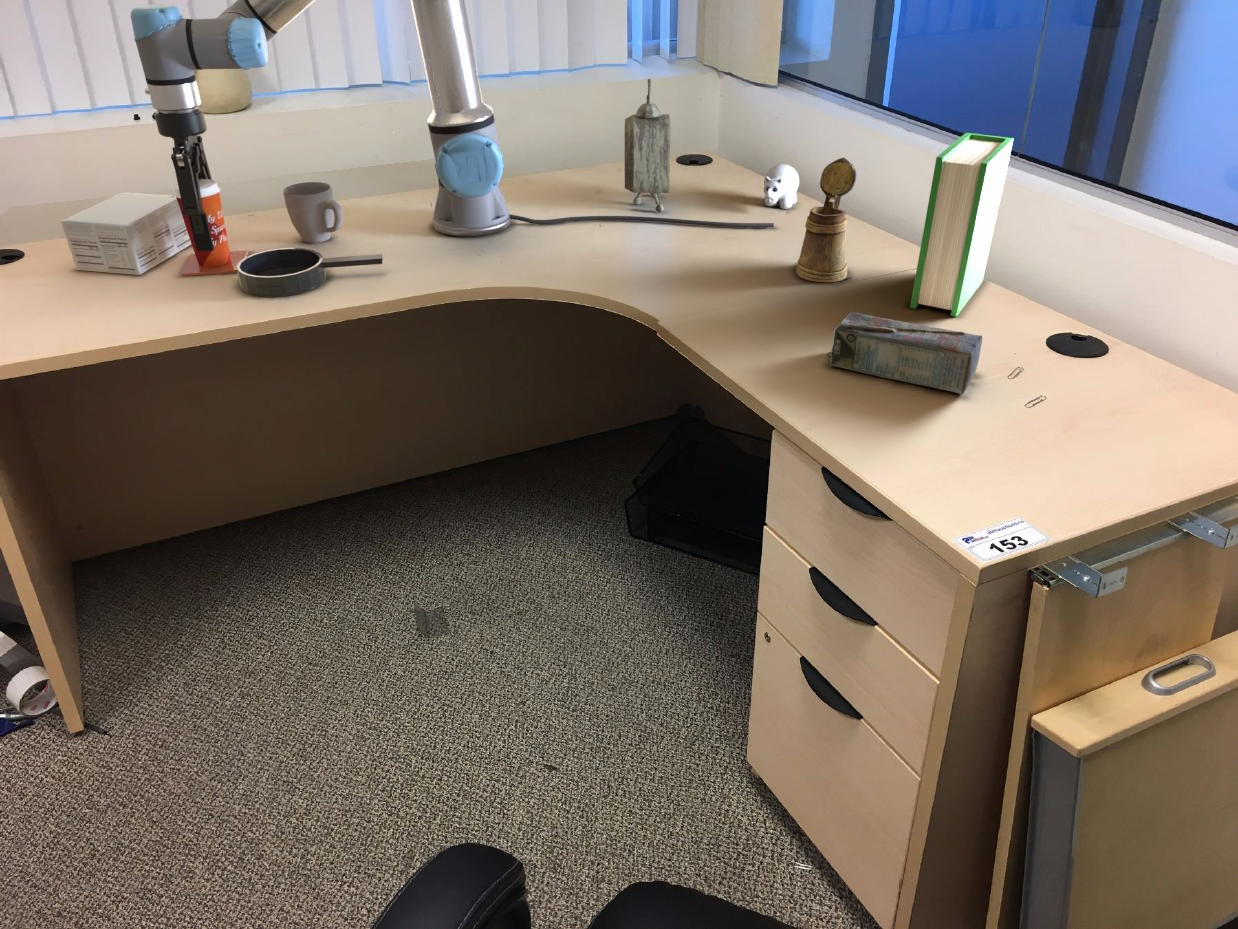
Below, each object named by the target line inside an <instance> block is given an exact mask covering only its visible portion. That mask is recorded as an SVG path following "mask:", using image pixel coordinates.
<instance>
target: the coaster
mask: <svg viewBox="0 0 1238 929" xmlns="http://www.w3.org/2000/svg"><path fill="white" fill-rule="evenodd" d="M248 256H249V250H237V251H235V250H234V251H230V257H231V261H230V262H229V263H227V264H225V265H222V266H218V267H202V266H200V265H199V264H198V261H197V259H196V256H195V253H194V254H193V253H192V254H190V256H189V258H188V260H187V262H186V264H185V265H184V267H183V269H182V271H181V273H180V276H181V277H192V276H194V277H195V276H206V275H221V274H222V275H223V274H235V273H237V270H236V266H237V264H238V262H240V261H241V260H242V259H244V258H246V257H248Z"/></svg>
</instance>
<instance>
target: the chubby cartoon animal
mask: <svg viewBox="0 0 1238 929" xmlns="http://www.w3.org/2000/svg"><path fill="white" fill-rule="evenodd" d="M799 185H800V177H799V174H798V172H797V170H796V169H795V168H794V167H792V166H791V165H789V164H785V163H780V164H776V165H774V166H771V168H770V169H769V170H767V172H766V174H765V176H764V179H763V193H764V205H765V206H767V207H775V206H777V204H779V208H780V209H783V210H787V209H792V207H793V205H795V204H797V202H798V199H797V198H798V197H797V193H796V192H797V191H798V189H799Z"/></svg>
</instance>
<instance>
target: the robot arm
mask: <svg viewBox="0 0 1238 929" xmlns="http://www.w3.org/2000/svg"><path fill="white" fill-rule="evenodd" d="M315 1H316V0H236V1H235V2H234V3H232V4H230V6H229V7H227V8H226V9H225V10H224V11H223V12H222V13H221V14H220V15H218V16H217V17H216V18H215V17H213V18H195V19H194V18H184V15H182V12H181V10H180V7H178V6H177V5H174V4H164V3H163V4H162V3H161V4H144V5H139V6H136V7H133V9H132V10H131V12H130V19H131V26H132V30H133V35H134V38H133V40H134V42H135V45H136V48H137V52H138V56H139V59H140V60H139V61H140V62H141V66H142V70H143V75H144V78H145V82H146V85H147V88H144V92H145V94H146V95H147V96H148V95H149V96H150V102H151V106H152V108H153V109H154V110H156V111H155V112H154V114H153V115H154V120H155V123H156V127H157V131H158V133H159V135H160V136H162V137H164V138H171V139H173V146H172V153H171V154H170V159H171V161H172V164H173V168H174V173H175V178H176V182H177V184H178V187H179V192H180V196H181V201H182V206H183V212H182V215H183V216H187V215H188V217H189V221H190V225H191V229H192V233H193V237H194V241H195V245H196V249H197V251H213V250H214V246H213V242H212V238H211V234H210V230H209V225H208V221H207V217H206V213H203V212H204V211H203V207H202V200H201V193H200V186H199V179H210V180H213V178H212V174H211V170H210V167H209V162H208V160H207V156H206V153H205V148H204V143H203V137H202V134H204V133H206V132H207V128H208V127H207V124H206V119H205V114H204V110H203V109H202V108H201V107H200V106H201V105H202V100H201V95H200V91H199V87H198V83H197V79H196V75H195V71H203V70H243V71H246V70H247V71H248V70H250V69H260V68H261V69H262V68H264V67H266V66H267V64H268V63H269V47H268V42H269V41H270V40H272V38H273V37H275V36H276V35H277V34H278V33H279V32H280V31H281V30H282V29H284V28H285V27H286V26H287V25H288V24H290V23H291V21H293V20H294V19H295V18H297V17H299V15H300V14H301V13H303V11H305V10H306V9H307V8H308V7H310V6H311V5H312V4H313V3H314V2H315ZM410 3H411V8H412V13H413V18H414V22H415V27H416V28H415V29H416V32H417V36H418V42H419V46H420V51H421V57H422V60H423V65H424V71H425V74H426V75H425V76H426V80H427V85H428V89H429V93H430V98H431V103H432V104H431V105H432V109H431V113H430V115H429V117H428V118H427V120H426V123H427V127H428V131H429V137H430V141H431V147H432V151H433V156H434V160H435V162H434V168H435V169H434V170H435V173H436V176H437V180H438V191H437V197H436V201H435V205H434V209H433V203H432V200H431V199H430V201H429V202H430V206H431V210H433V216H432V222H433V229H435V231H437V232H438V233H440V234H443V235H448V236H451V237H453V236H454V237H463V238H464V237H465V238H466V237H467V238H468V237H482V236H488V235H493V234H497V233H499V232H502V231H504V230H506V229H507V228H509V227H510V225H511V220H513V221H514V220H515V221H520V222H524V223H528V224H533V225H555V224H560V223H562V224H563V223H568V222H584V221H635V222H655V223H666V224H680V225H691V226H707V227H720V228H775V227H774V226H775V224H774V222H725V221H724V222H723V221H710V220H708V221H706V220H693V219H682V218H669V217H653V216H638V215H637V216H636V215H586V216H569V217H568V216H567V217H561V218H559V217H558V218H552V219H534V218H529V217H526V216H520V215H515V214H511V212H510V210H509V207H508V204H507V202H506V199H505V197H504V195H503V192H502V189H501V187H500V182H501V179H502V177H503V172H504V168H505V162H504V156H503V153H502V152H501V148H500V143H499V142H500V141H499V137H498V132H497V126H496V117H495V115H494V114H495V113H494V109H493V106H491V105H490V104H487V103H484V101H483V96H482V90H481V85H480V79H479V74H478V69H477V63H476V57H475V51H474V46H473V41H472V36H471V35H472V34H471V30H470V24H469V18H468V13H467V8H466V1H465V0H410Z"/></svg>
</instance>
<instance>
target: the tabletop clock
mask: <svg viewBox="0 0 1238 929" xmlns="http://www.w3.org/2000/svg"><path fill="white" fill-rule="evenodd" d="M651 93H652V79H650V78H648V79H647V95H646V103H642V104H640V105H639V107H638V108H637V110H636V113H635V114H634V113H633V114H631V115H630V116H628V117H626V118H625V119H624V189H626V190H627V191H629V192H631V193H633V194H636V197H634V198H633V201H632V202H633V204H634V206H635V205H636V206H639V205H640V204H641V202H642V200H641V195H642V194H650V195H651V196H652V197H653V200H654V201H655V204H656V206H655V210H656V212H658V213H662V212H663V211H664V209H665V207H664V205H663V204H661V203H660V200H659V198H660V197H662V196H663V194H669V193H670V172H671V170H670V169H671V117H670V114H669V113H665V114H664V113H663V112H662V110H661V108H660V106H659V105H658V104H656V103H653V96H652V94H651Z"/></svg>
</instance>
